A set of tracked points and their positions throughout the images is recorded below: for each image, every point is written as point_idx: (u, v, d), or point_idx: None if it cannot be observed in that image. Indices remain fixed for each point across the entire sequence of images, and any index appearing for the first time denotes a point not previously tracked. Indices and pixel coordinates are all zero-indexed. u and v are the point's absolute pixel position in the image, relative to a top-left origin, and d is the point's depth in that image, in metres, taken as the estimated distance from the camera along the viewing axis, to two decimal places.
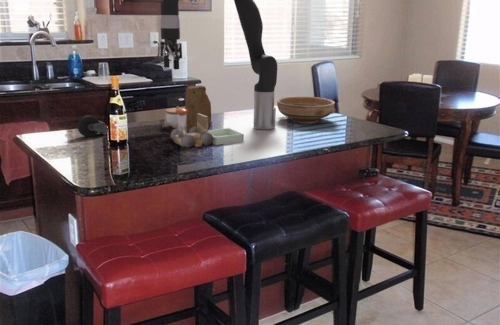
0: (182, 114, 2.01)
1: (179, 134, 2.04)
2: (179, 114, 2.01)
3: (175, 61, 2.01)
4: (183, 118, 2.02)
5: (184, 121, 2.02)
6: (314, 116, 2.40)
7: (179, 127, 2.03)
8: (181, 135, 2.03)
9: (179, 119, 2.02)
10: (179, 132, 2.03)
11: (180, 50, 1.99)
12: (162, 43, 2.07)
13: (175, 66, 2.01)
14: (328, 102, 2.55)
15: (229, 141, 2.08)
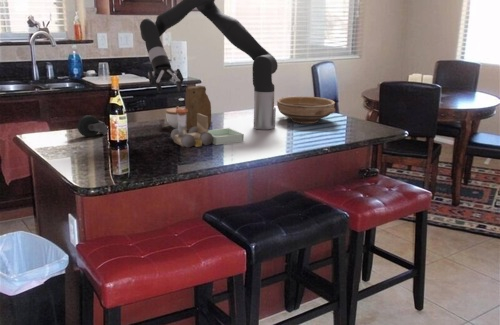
0: (182, 114, 2.01)
1: (179, 134, 2.04)
2: (179, 114, 2.01)
3: (180, 83, 2.13)
4: (183, 118, 2.02)
5: (184, 121, 2.02)
6: (314, 116, 2.40)
7: (179, 127, 2.03)
8: (181, 135, 2.03)
9: (179, 119, 2.02)
10: (179, 132, 2.03)
11: None
12: (151, 72, 2.10)
13: (181, 87, 2.12)
14: (328, 102, 2.55)
15: (229, 141, 2.08)
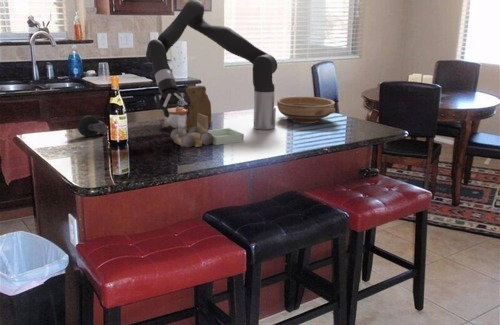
0: (182, 114, 2.01)
1: (179, 134, 2.04)
2: (179, 114, 2.01)
3: (187, 106, 2.09)
4: (183, 118, 2.02)
5: (184, 121, 2.02)
6: (314, 116, 2.40)
7: (179, 127, 2.03)
8: (181, 135, 2.03)
9: (179, 119, 2.02)
10: (179, 132, 2.03)
11: None
12: None
13: (188, 110, 2.08)
14: (328, 102, 2.55)
15: (229, 141, 2.08)
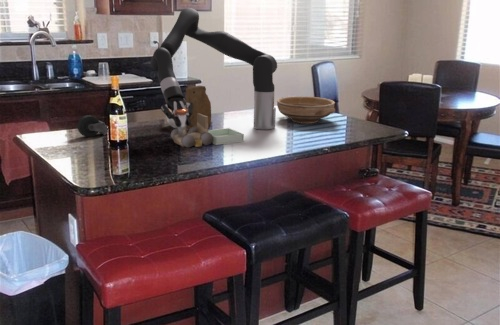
0: (182, 114, 2.01)
1: (179, 134, 2.04)
2: (179, 114, 2.01)
3: (188, 117, 2.04)
4: (183, 118, 2.02)
5: (184, 121, 2.02)
6: (314, 116, 2.40)
7: (179, 127, 2.03)
8: (181, 135, 2.03)
9: (179, 119, 2.02)
10: (179, 132, 2.03)
11: None
12: None
13: (190, 121, 2.03)
14: (328, 102, 2.55)
15: (229, 141, 2.08)
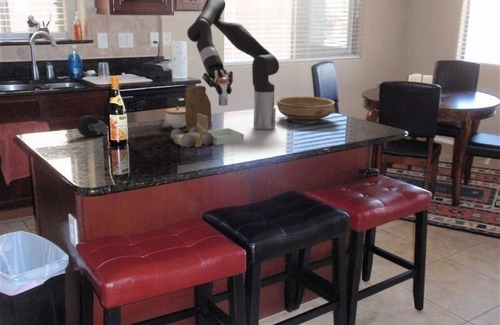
0: (224, 82, 2.05)
1: (220, 102, 2.07)
2: (221, 82, 2.05)
3: (229, 85, 2.08)
4: (224, 86, 2.05)
5: (225, 89, 2.06)
6: (314, 116, 2.40)
7: (220, 95, 2.06)
8: (222, 103, 2.07)
9: None
10: (220, 100, 2.07)
11: None
12: None
13: (230, 89, 2.07)
14: (328, 102, 2.55)
15: (229, 141, 2.08)
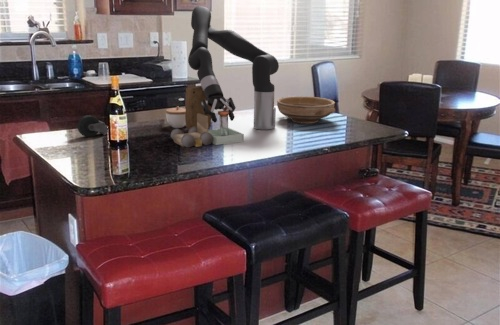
0: (224, 116, 2.11)
1: (221, 135, 2.13)
2: (221, 116, 2.11)
3: (232, 112, 2.13)
4: (225, 120, 2.11)
5: (226, 122, 2.12)
6: (314, 116, 2.40)
7: (221, 128, 2.12)
8: None
9: (221, 121, 2.11)
10: (221, 133, 2.13)
11: None
12: None
13: (233, 116, 2.12)
14: (328, 102, 2.55)
15: (229, 141, 2.08)
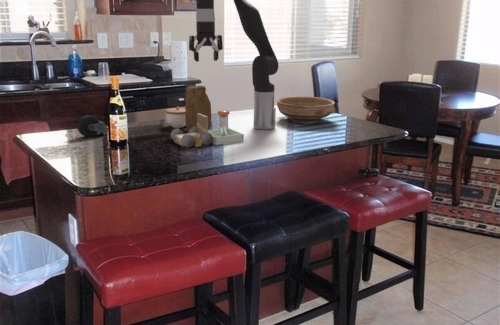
0: (224, 116, 2.11)
1: (221, 135, 2.13)
2: (221, 116, 2.11)
3: (217, 52, 2.12)
4: (225, 119, 2.11)
5: (226, 122, 2.12)
6: (314, 116, 2.40)
7: (221, 128, 2.12)
8: None
9: (221, 120, 2.12)
10: (221, 133, 2.13)
11: None
12: (193, 37, 2.05)
13: (217, 57, 2.13)
14: (328, 102, 2.55)
15: (229, 141, 2.08)
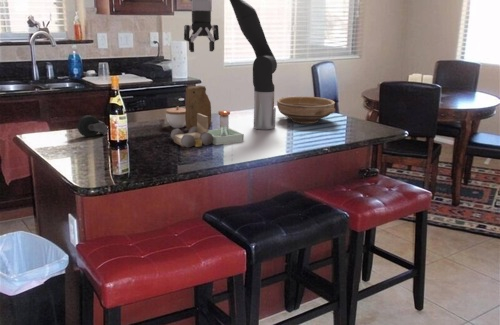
0: (225, 116, 2.11)
1: (221, 135, 2.13)
2: (222, 116, 2.11)
3: (213, 43, 2.05)
4: (226, 120, 2.11)
5: (226, 122, 2.12)
6: (314, 116, 2.40)
7: (222, 128, 2.12)
8: None
9: (222, 121, 2.11)
10: (221, 133, 2.13)
11: None
12: None
13: (213, 48, 2.06)
14: (328, 102, 2.55)
15: (229, 141, 2.08)
